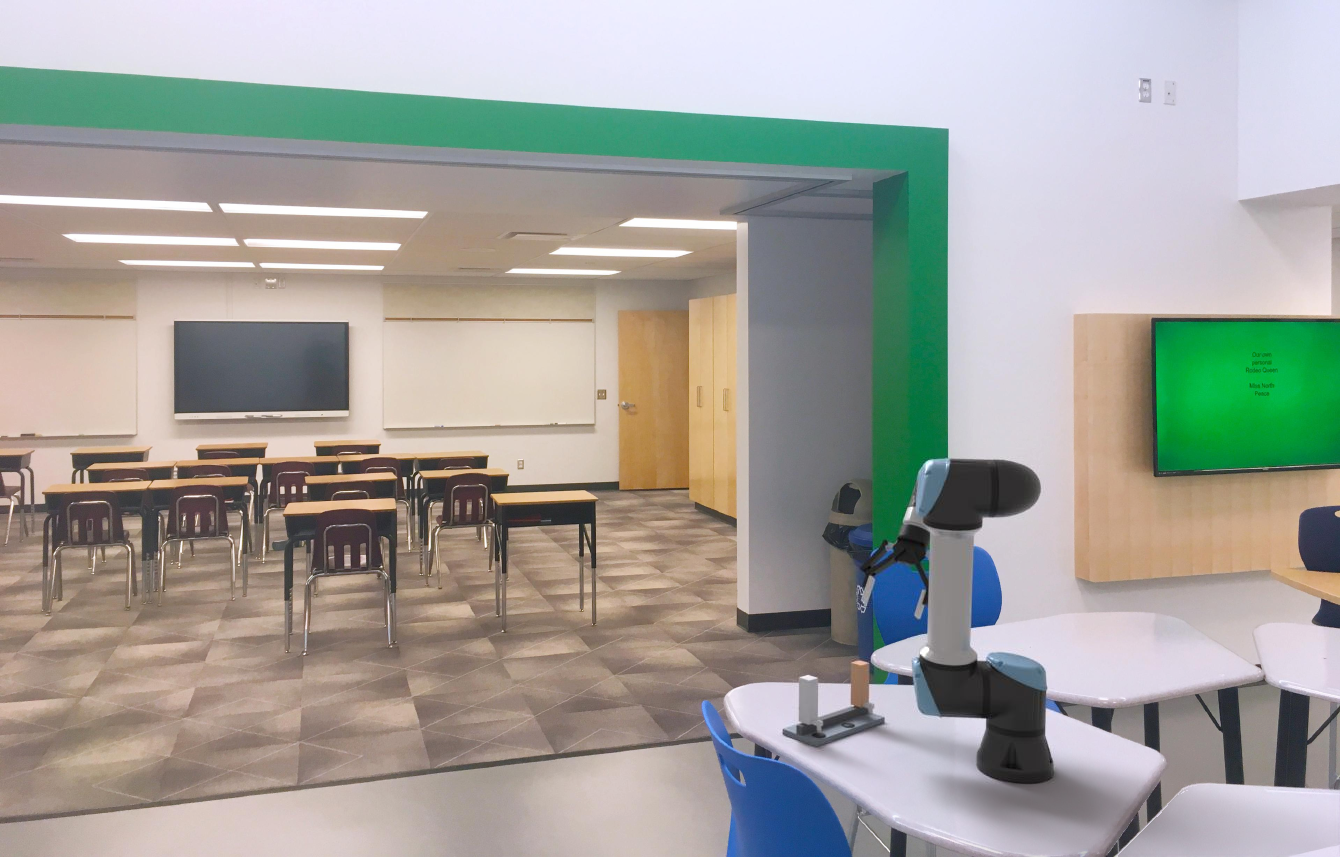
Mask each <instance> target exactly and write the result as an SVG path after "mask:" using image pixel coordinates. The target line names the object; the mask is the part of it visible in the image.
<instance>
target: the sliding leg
mask: <svg viewBox="0 0 1340 857" xmlns="http://www.w3.org/2000/svg"><path fill="white" fill-rule="evenodd" d="M850 705H851V706H857V707H860V708H861V707H865V708H868V714H869V715H872V714H873V711H874V709H875V703H872V702H870V663H869V662H867V661H864V660H860V659H859V660H855V661H853V662H850Z"/></svg>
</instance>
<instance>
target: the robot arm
mask: <svg viewBox="0 0 1340 857" xmlns="http://www.w3.org/2000/svg"><path fill="white" fill-rule="evenodd" d="M1041 492H1042V485H1041V480H1040V478H1039V476H1038V474H1037V473H1036V472H1035V471H1034V470H1033V469H1031V468H1030V467H1028V465H1025V464H1022V463H1019V462H1016V461H1013V460H1006V459H981V458H979V459H978V458H976V459H975V458H949V457H945V458H936V459H934V458H932V459H929V460H927V461H925V463H923V464H922V466H921V467H920V469H919V471H918V473H917V477H916V480H915V484H914V488H913V491H912V493H911V498H910V499H909V500H910V501H909V504H908V506H907V509H906V511H905V515H904V517H903V520H902V525H901V526H900V528H899V532H898V534H897V535H898V536H897V537H896V541H895V542H894V543H892V542H889V541H888V540H887V539H883V540H882V543H881V544H880V546H879V547H878V548H877V549H876V551H875V552H873V553H872V554H871V556H870V557H869V558H868V559H866V561H865V562H864V563H863V564H862V565H861V566H860V567H859V570H860V571H861V573H863V574H864V580H863V583H862V585H861V586H862V588H863V593H862V595H861V599H860V601H861V602H862V603H863V604H864V605H868V603H869V600H870V596H871V594H872V590H873V588H874V585H875V583H876V582H875V581H876V578H875V576H876V577H877V575H879V574H881V573H882V572H883V571H885V570H887V569H888V568H890V567H891V566H892V565H895V564H898V563H899V564H900V565H906V566H909V567H914V566H915V567H916V570H917V572H918V574H919V576H920V578H921V581H922V583H923V585H924V587H925V589H922V590H921V593H920V596H919V598H918V599H919V600H918V602H917V605H916V609H915V610H914V611H915V612H914V614H913V616H914V617H915V618H916V619H917V620H921V618H922V614H923V611H924V608H925V607H927V634H926V638H927V639H926V640H927V641H926V642H925V644H924V645H921V647H920V648H919V657H917V656H916V657H913V658H912V659H911V670H912V680H913V687H914V688H913V689H914V695H915V701H916V705H917V709H918V711H919V712H920V713H921V714H922V715H924V716H932V717H939V718H941V719H942V718H959V719H963V718H964V719H967V718H968V719H984V720H985V730H984V733H983V737H982V738H981V739H982V740H981V742H980V745H979V748H978V750H977V752H976V758H975V759H976V761H975V762H976V764H975V765H976V767H977V769H978V770H979V771H981V773H983V774H985V775H987V776H989V777H991V778H994V779H998V780H1002V781H1007V782H1012V783H1017V784H1019V783H1020V784H1034V783H1042V782H1045V781H1048V780H1050V779H1052V778H1053V776H1054V771H1055V769H1054V768H1055V763H1054V759H1053V757H1052V753H1051V749H1050V747H1049V743H1048V739H1047V736H1046V723H1047V721H1046V720H1047V718H1046V717H1047V716H1046V714H1047V690H1048V684H1047V672H1046V669H1045V667H1044V666H1043V665H1042V664H1041V663H1040V662H1038V661H1037V660H1034V659H1033V658H1030V657H1026V656H1025V655H1020V654H1017V653H1012V652H1011V653H1010V652H1004V651H993V652H989V653H988V654H987V656H986V657H985V660H978V653H977V652H976V650H974V648H973V647H972V646H971V637H972V636H971V631H972V630H971V629H972V606H973V605H972V603H973V602H972V601H973V600H972V599H973V577H974V576H973V575H974V546H975V544H974V542H975V535H976V533H978V532H979V531H981V529H982V528H983V519H984V518H985V519H986V518H989V519H990V518H1007V517H1008V518H1009V517H1012V516H1016V515H1019V514H1022V513H1024V512H1026V511H1028V510H1030V509H1031V508H1032V507H1033V506H1034V505H1035V504H1036V503H1037V502H1038V501H1039V498H1040V496H1041ZM928 547H929V551H928V550H927V549H928ZM890 550H893V552H892V553H890V554H889V555H888V556H887V557H886V558H884V559H883V560H881V559H882V558H883V557H884V556H885V555H886V554H887V553H888V552H889V551H890ZM926 558H927V560H928V562H929V563H928V564H929V566H928V570H929V571H928V575H927V573H926V571H925V569H924V566H923V564H922V561H923V560H924V559H926ZM880 560H881V561H880Z"/></svg>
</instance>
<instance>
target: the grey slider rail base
mask: <svg viewBox="0 0 1340 857" xmlns="http://www.w3.org/2000/svg"><path fill="white" fill-rule="evenodd" d="M885 721H886V719H885V716H882V715H879V714H877V713H875V712H874V713H873V714H872V715H869V714H868V708H865V707H861V708H860V707H857V706H854V705H851V706H847V707H844V708H842V709H838V710H835V711H832V712H830V713H826V714H824V715H820V716H819V678H818V677H816V676H813V675H810V674H807V675H806V674H805V675H803V676H800V677H798V722H799V723H796V724H793V725H790V726H787V727H785V728H782V735H784V736H787V737H790V738H792V739H796V740H798V741H800V742H803V743H806V744H808V745H811V746H814V747H818V746H822V745H825V744H826V743H829V742H833V741H835V740H839V739H841V738H844V737H846V736H849V735H852V734H856V733H858V732H861V731H864V730H867V729H869V728H871V727H874V726H879V725H880V724H883V723H885Z"/></svg>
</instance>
